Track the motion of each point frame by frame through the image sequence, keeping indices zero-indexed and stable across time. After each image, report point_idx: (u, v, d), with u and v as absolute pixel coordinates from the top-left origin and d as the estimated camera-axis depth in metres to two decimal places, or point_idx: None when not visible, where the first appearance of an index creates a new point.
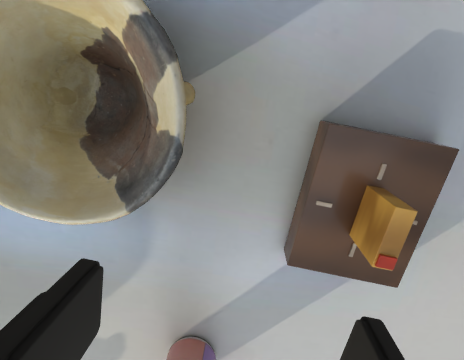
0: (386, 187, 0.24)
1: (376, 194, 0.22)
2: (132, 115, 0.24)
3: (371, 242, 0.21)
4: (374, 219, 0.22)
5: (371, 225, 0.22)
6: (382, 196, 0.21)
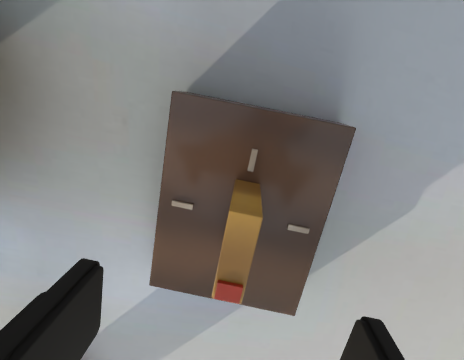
0: (262, 182, 0.17)
1: None
2: None
3: None
4: None
5: None
6: (234, 194, 0.15)
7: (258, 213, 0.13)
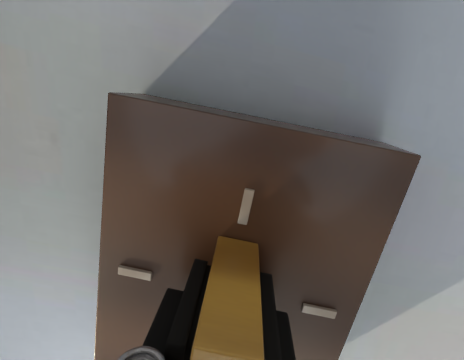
0: (262, 240, 0.11)
1: (210, 269, 0.09)
2: None
3: None
4: None
5: None
6: (210, 281, 0.08)
7: (255, 346, 0.06)
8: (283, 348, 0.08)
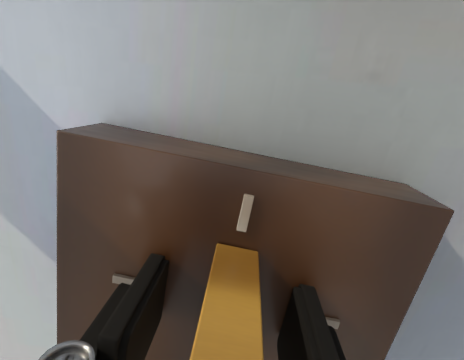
0: None
1: (208, 280, 0.08)
2: None
3: None
4: None
5: None
6: (208, 294, 0.08)
7: None
8: None
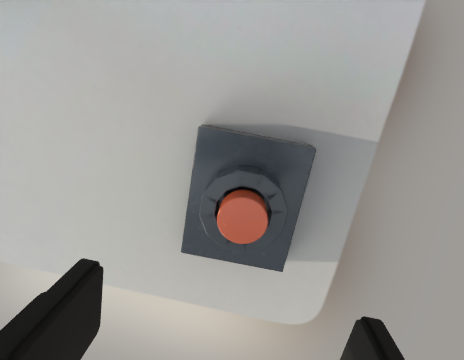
0: None
1: None
2: None
3: None
4: None
5: None
6: None
7: None
8: None
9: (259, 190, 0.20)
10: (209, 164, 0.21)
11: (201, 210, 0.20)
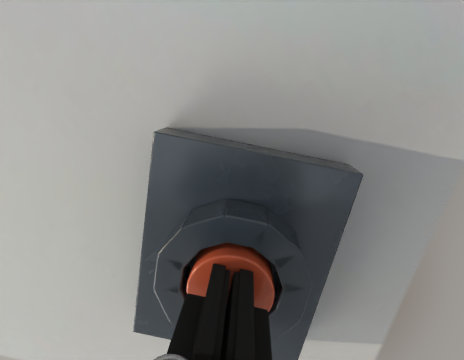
0: None
1: None
2: None
3: None
4: None
5: None
6: None
7: None
8: (260, 345, 0.08)
9: (260, 250, 0.11)
10: (174, 197, 0.12)
11: (156, 281, 0.12)
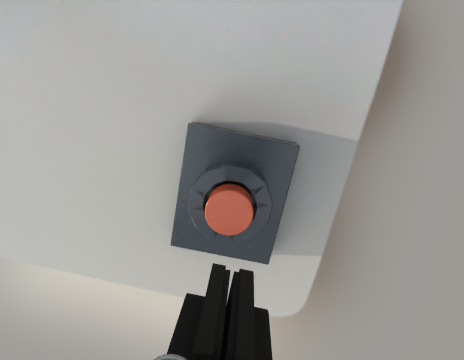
0: None
1: None
2: None
3: None
4: None
5: None
6: None
7: None
8: (260, 345, 0.08)
9: (245, 184, 0.21)
10: (198, 160, 0.22)
11: (190, 203, 0.21)
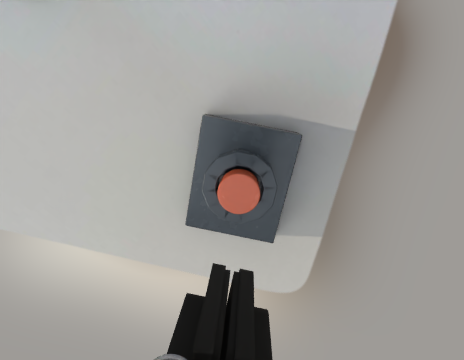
0: None
1: None
2: None
3: None
4: None
5: None
6: None
7: None
8: (260, 345, 0.08)
9: (253, 169, 0.23)
10: (211, 148, 0.25)
11: (204, 186, 0.24)
